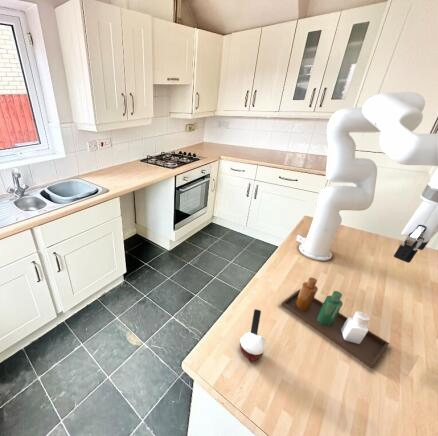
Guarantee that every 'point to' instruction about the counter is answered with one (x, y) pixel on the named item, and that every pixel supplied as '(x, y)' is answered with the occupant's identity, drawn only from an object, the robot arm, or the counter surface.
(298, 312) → the tray
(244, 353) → the cocoa
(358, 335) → the salt shaker
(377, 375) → the counter surface
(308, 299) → the amber bottle
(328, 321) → the green bottle
